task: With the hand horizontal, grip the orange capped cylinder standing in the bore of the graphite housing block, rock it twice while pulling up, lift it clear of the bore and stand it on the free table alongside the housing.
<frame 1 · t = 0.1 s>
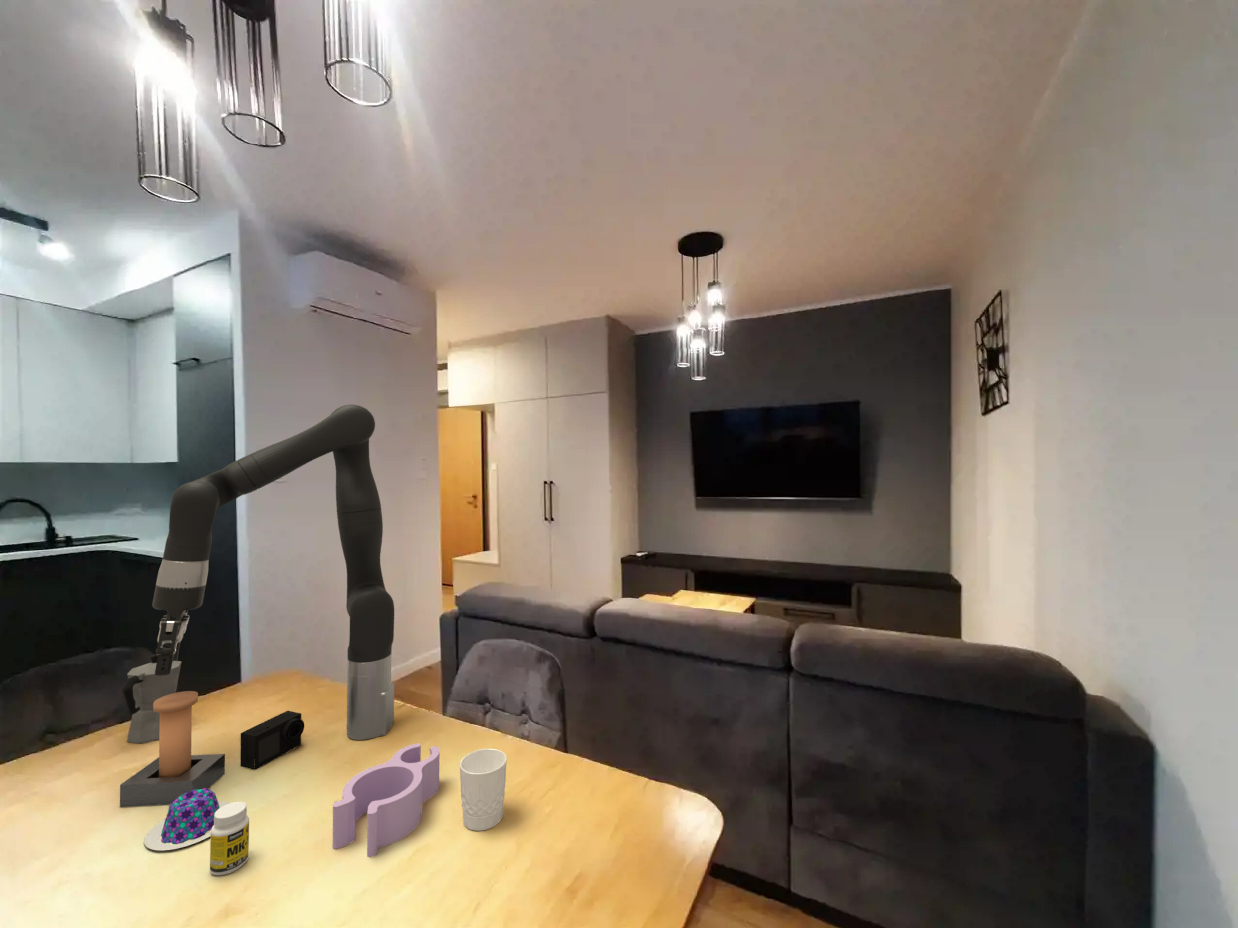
hand: (166, 667, 99), 22 cm above the table, tool pointing down, fingers open, 8 cm apart
orange capped cylinder: (175, 743, 97), in the housing
coffeepot: (150, 736, 117), on the table
pudding: (192, 829, 87), on the table
digital camera: (273, 756, 109), on the table
housing: (175, 789, 97), on the table
supplement bottle: (229, 865, 79), on the table
white cup: (483, 818, 90), on the table
clip: (393, 814, 91), on the table
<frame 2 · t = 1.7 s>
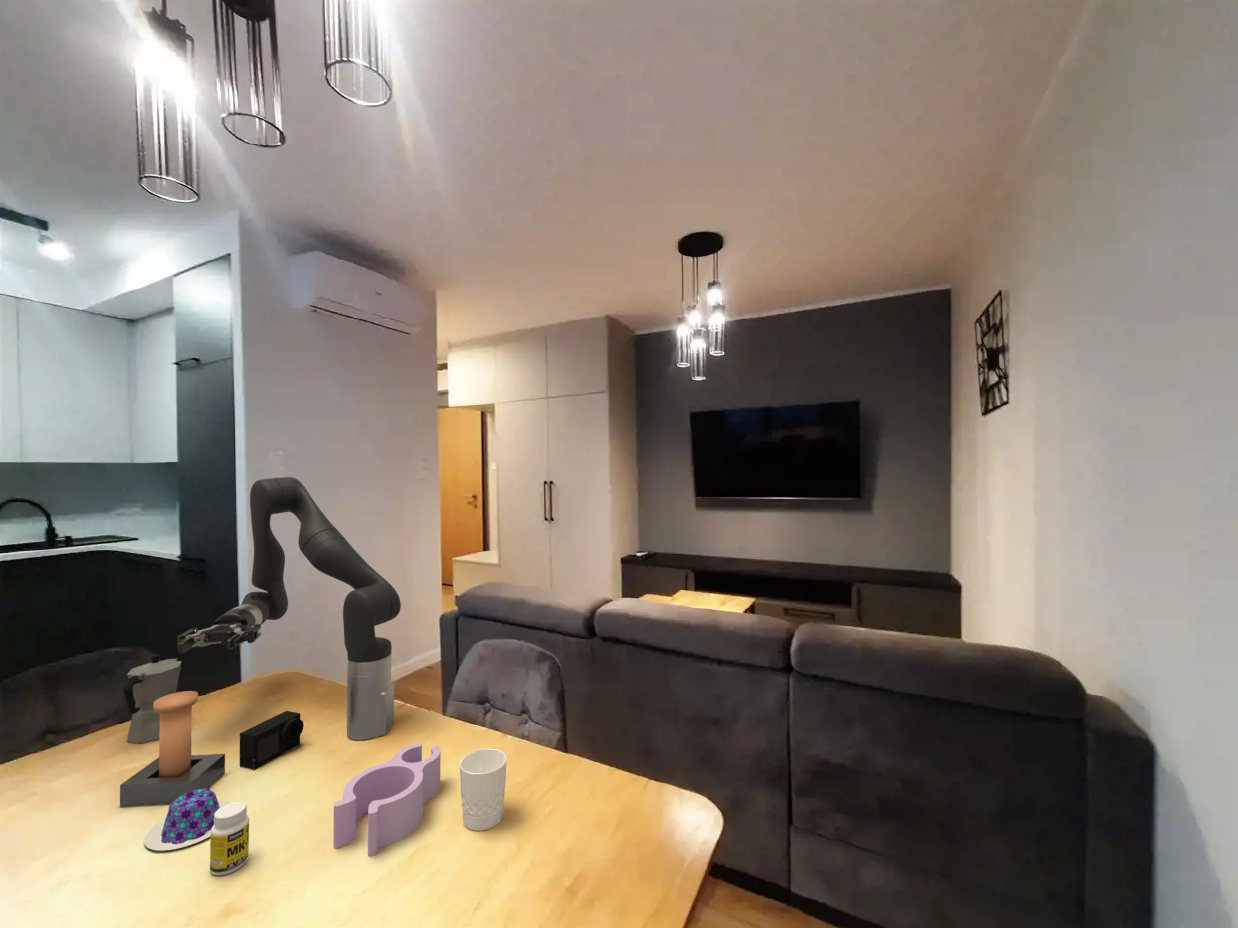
hand: (205, 646, 108), 23 cm above the table, tool horizontal, fingers open, 8 cm apart
nothing on the table moved.
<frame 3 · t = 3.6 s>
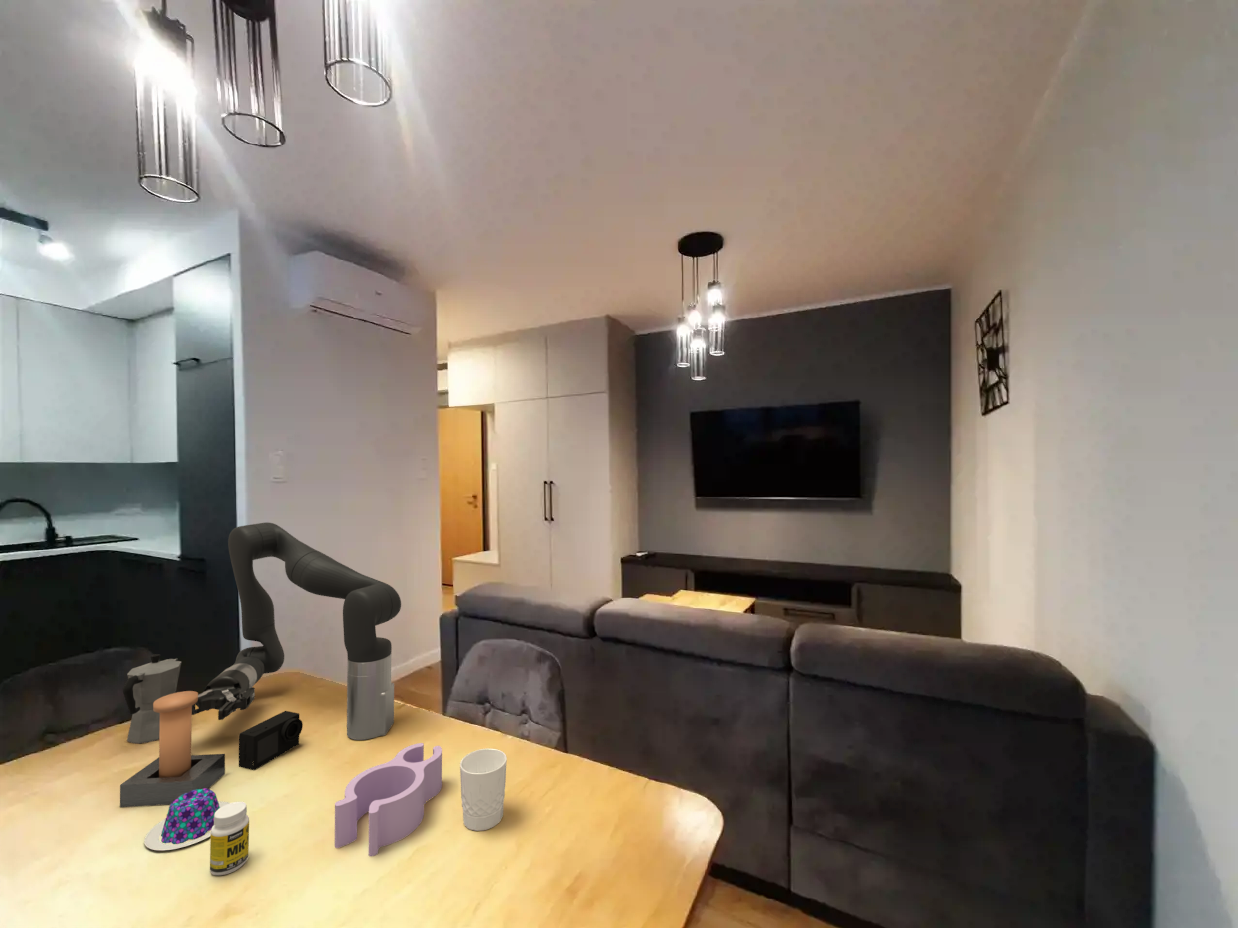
hand: (195, 717, 104), 10 cm above the table, tool horizontal, fingers open, 8 cm apart
nothing on the table moved.
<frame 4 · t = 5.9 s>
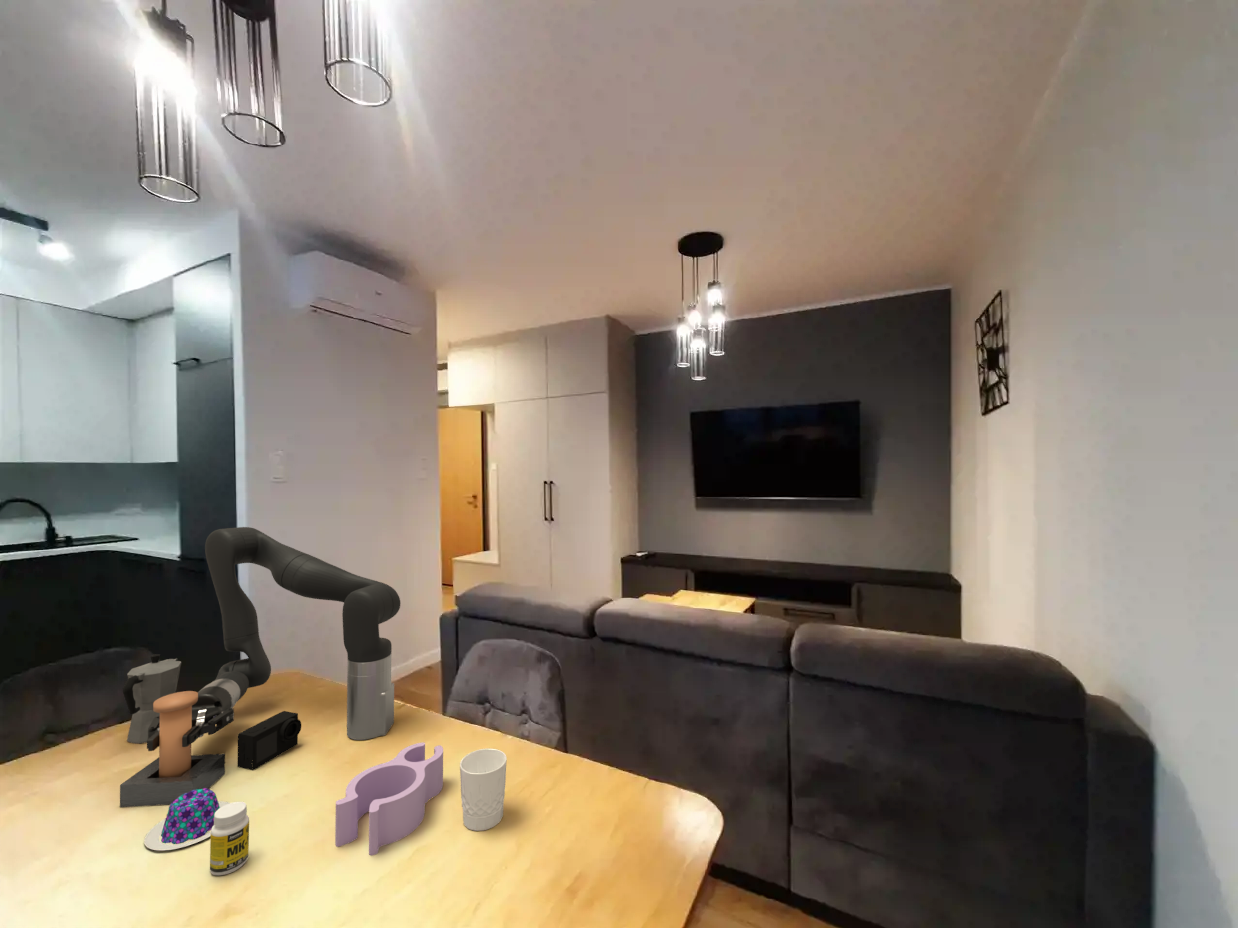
hand: (167, 743, 95), 10 cm above the table, tool horizontal, fingers closed on orange capped cylinder, 4 cm apart
orange capped cylinder: (175, 743, 97), in the housing, touching gripper
everything else where it was.
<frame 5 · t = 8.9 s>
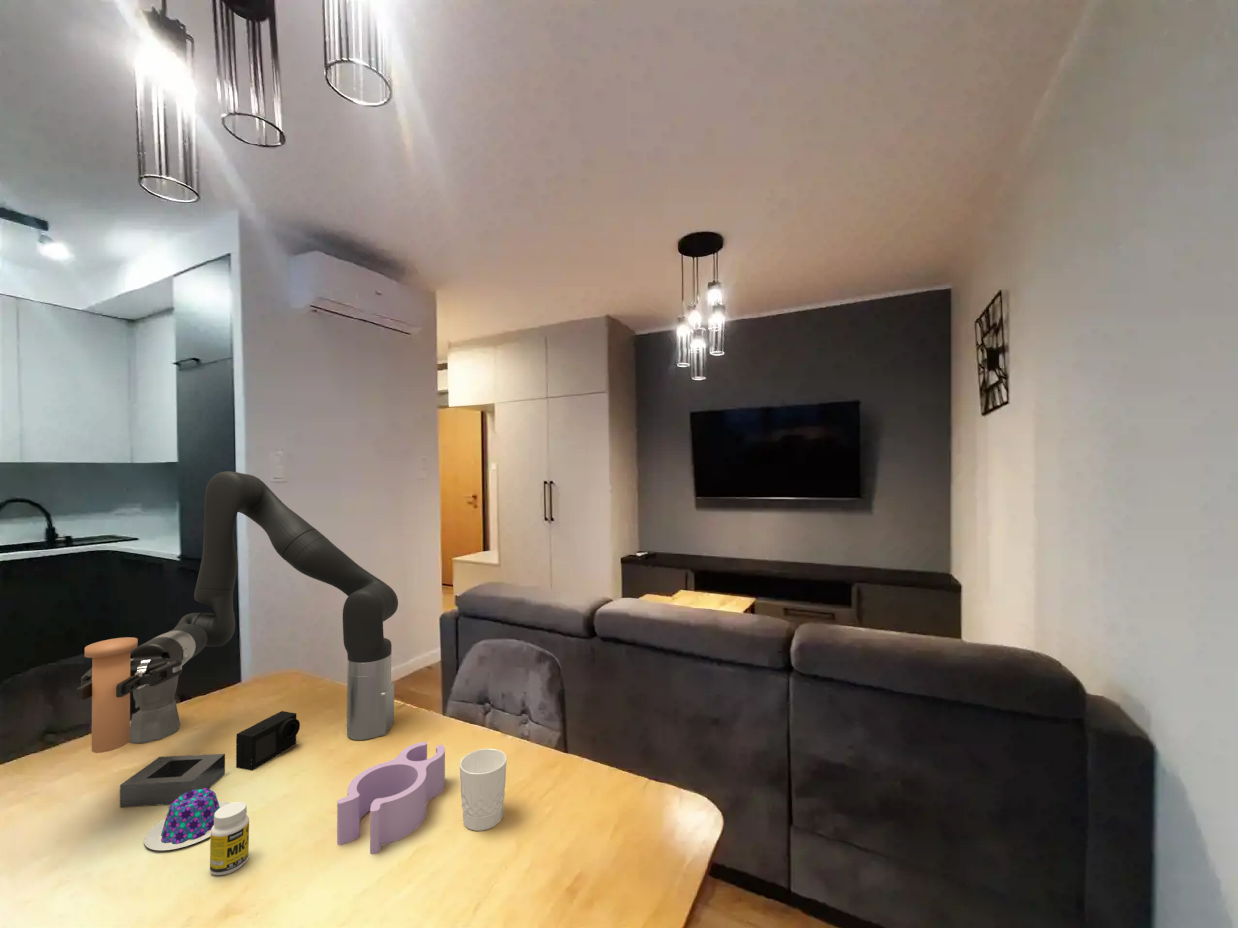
hand: (100, 692, 85), 24 cm above the table, tool horizontal, fingers closed on orange capped cylinder, 4 cm apart
orange capped cylinder: (111, 694, 87), point 22 cm above the table, touching gripper
everything else where it was.
when the fingers open (11 cm above the table, at t = 12.0 s): orange capped cylinder stays where it is, on the table.
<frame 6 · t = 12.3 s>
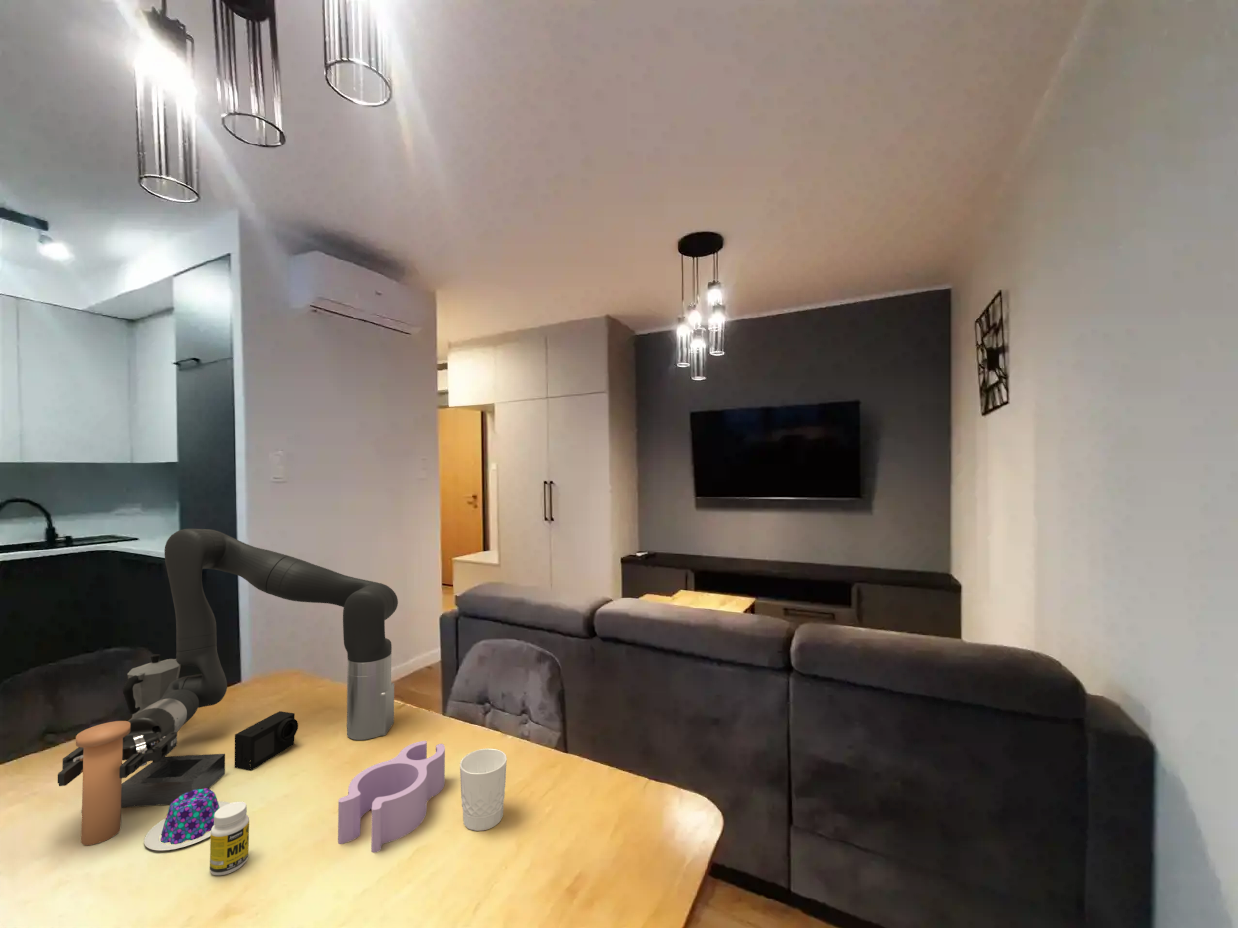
hand: (92, 776, 83), 11 cm above the table, tool horizontal, fingers open, 7 cm apart
orange capped cylinder: (102, 782, 85), on the table
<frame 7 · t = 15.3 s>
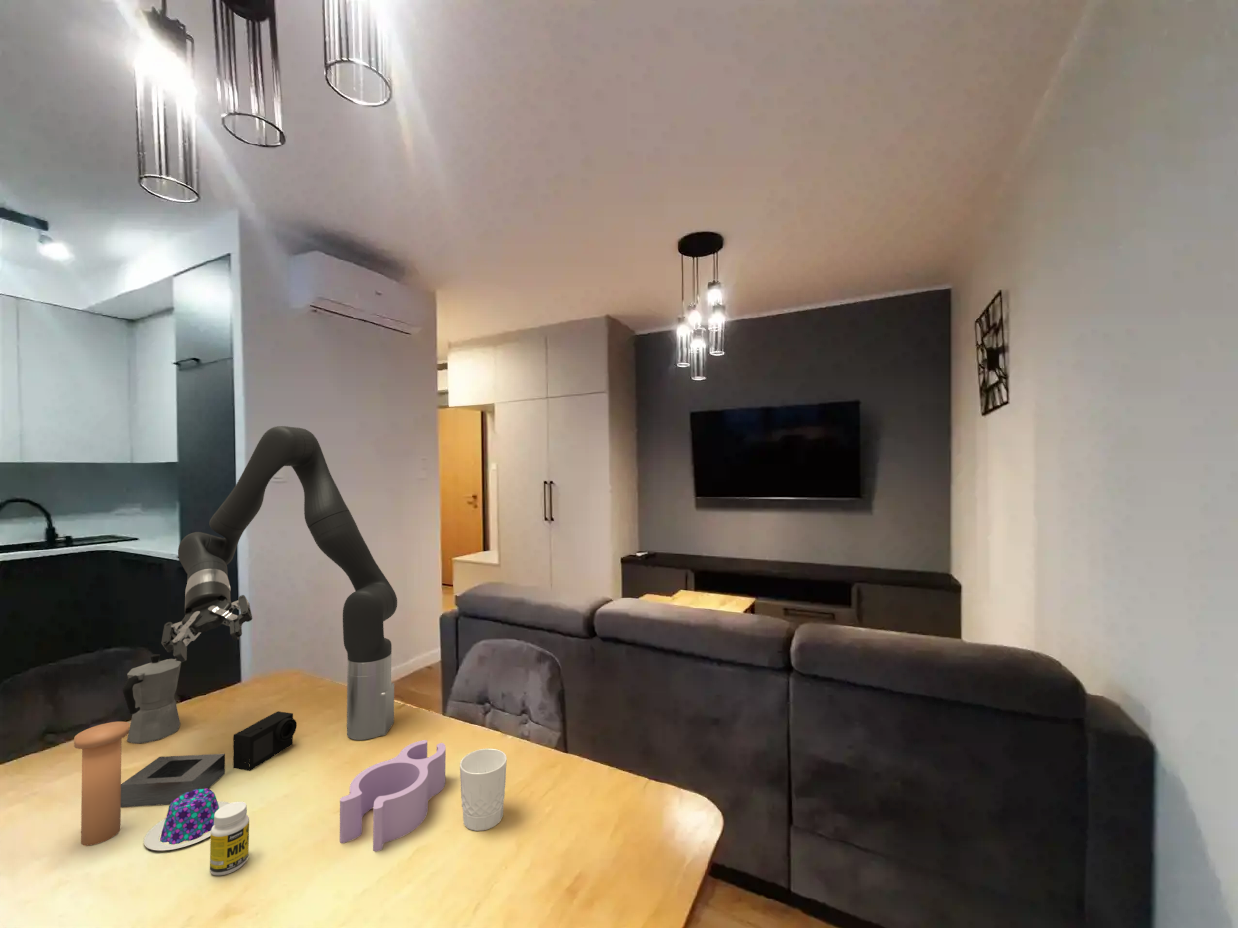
hand: (208, 648, 99), 26 cm above the table, tool tilted 60°, fingers open, 8 cm apart
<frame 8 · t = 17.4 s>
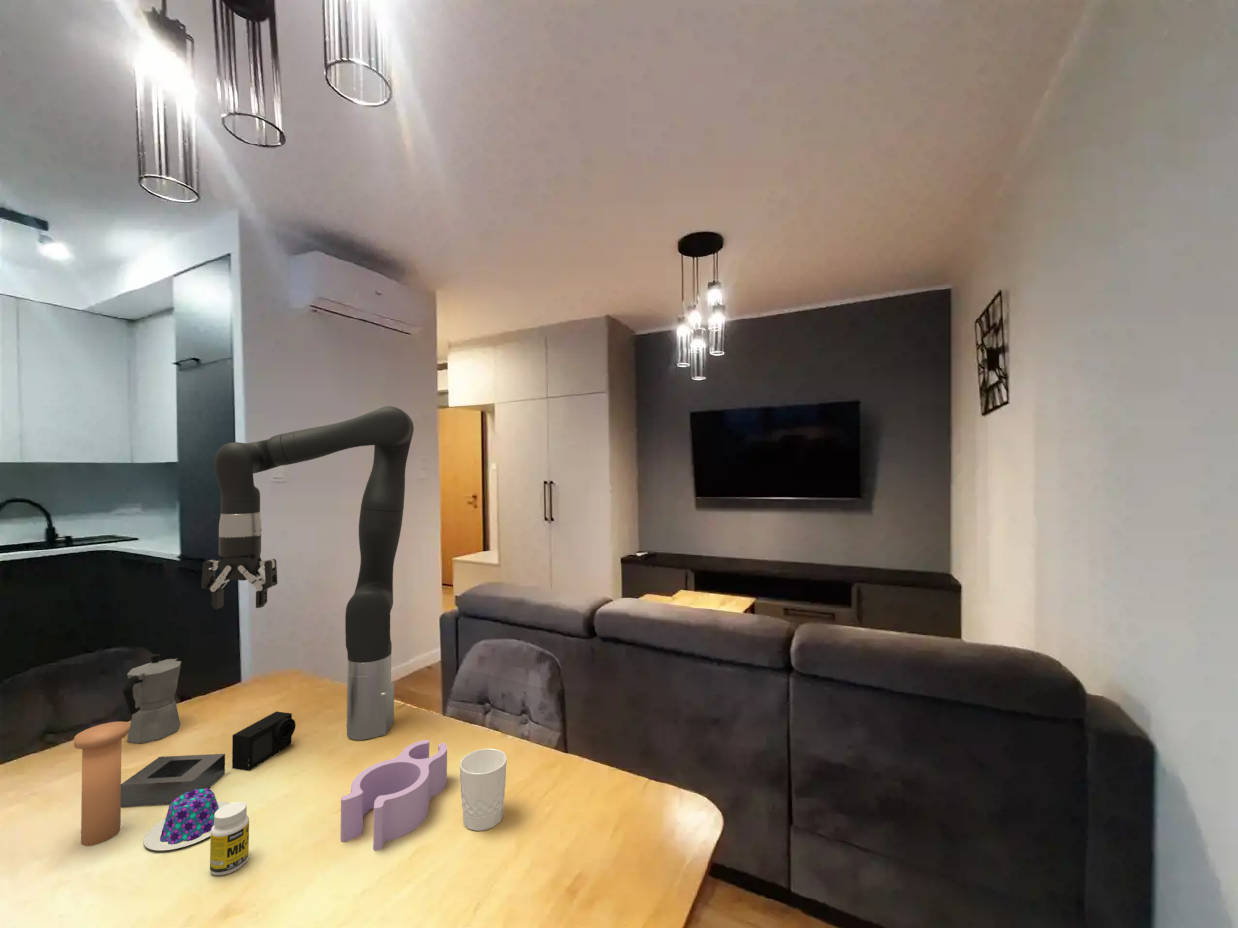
hand: (239, 607, 113), 30 cm above the table, tool pointing down, fingers open, 8 cm apart
at the end: orange capped cylinder inside the target area (0.7 cm from its centre), on the table; orange capped cylinder tilted 0°; the gripper is holding nothing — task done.
